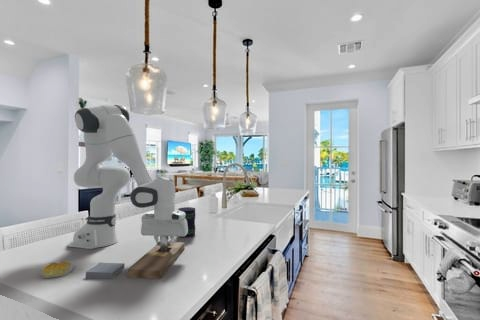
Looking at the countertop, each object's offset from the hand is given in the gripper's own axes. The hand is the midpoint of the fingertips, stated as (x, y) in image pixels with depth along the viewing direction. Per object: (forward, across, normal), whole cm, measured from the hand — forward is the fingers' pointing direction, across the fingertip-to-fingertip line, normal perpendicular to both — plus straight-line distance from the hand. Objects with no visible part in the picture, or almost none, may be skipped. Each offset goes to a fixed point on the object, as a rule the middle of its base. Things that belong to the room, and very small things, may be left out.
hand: (164, 245), depth 108 cm
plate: (+5, -16, -17) cm, 24 cm away
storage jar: (+5, +1, +31) cm, 31 cm away
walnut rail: (+5, 0, -5) cm, 7 cm away
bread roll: (+5, -34, -18) cm, 39 cm away
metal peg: (+2, 0, 0) cm, 2 cm away
